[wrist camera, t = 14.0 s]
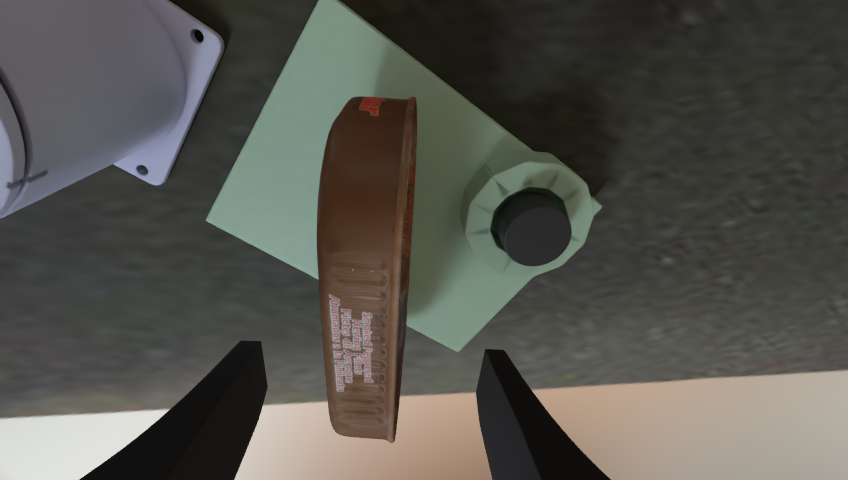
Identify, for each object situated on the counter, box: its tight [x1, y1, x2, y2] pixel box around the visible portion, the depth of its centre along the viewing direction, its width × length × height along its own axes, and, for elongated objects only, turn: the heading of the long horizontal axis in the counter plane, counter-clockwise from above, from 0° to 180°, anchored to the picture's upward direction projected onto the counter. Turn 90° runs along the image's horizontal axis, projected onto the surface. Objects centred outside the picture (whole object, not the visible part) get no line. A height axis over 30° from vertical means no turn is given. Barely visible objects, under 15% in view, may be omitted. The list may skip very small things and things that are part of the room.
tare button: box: [496, 192, 572, 266], centre depth 18 cm, size 3×3×2 cm
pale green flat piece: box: [206, 0, 602, 352], centre depth 20 cm, size 16×12×3 cm
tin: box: [317, 96, 418, 443], centre depth 17 cm, size 15×3×8 cm, turn 176°
